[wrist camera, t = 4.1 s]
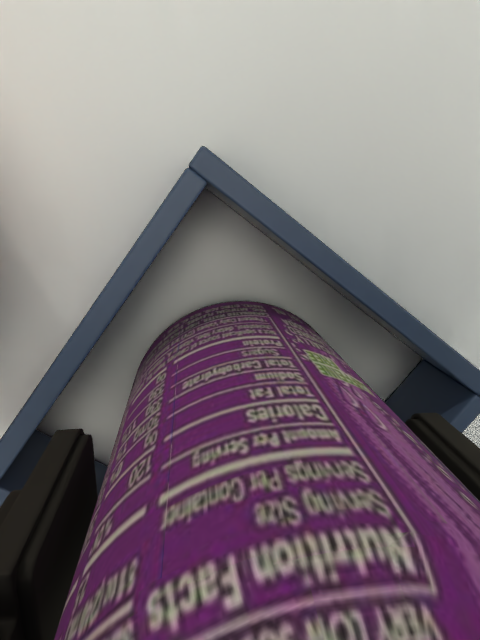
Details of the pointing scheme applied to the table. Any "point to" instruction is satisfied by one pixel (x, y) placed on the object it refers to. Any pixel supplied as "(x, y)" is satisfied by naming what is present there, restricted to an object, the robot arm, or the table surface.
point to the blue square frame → (216, 176)
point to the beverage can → (270, 501)
